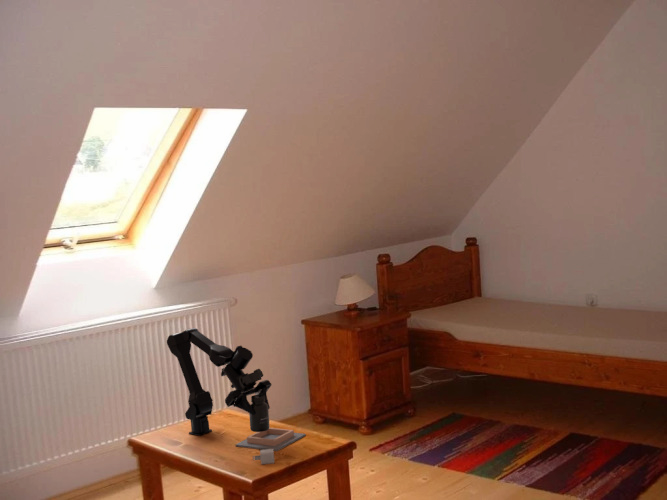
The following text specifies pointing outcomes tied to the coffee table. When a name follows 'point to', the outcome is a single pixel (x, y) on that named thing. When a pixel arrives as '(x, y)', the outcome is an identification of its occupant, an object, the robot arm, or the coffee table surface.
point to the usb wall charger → (265, 456)
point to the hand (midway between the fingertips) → (261, 411)
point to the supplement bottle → (259, 414)
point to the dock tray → (271, 439)
